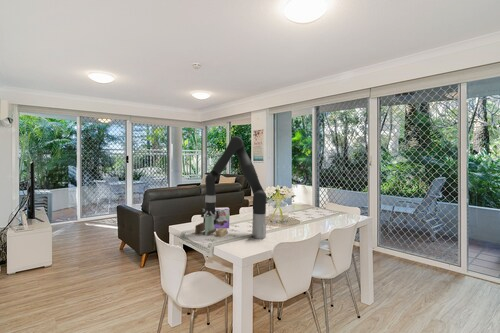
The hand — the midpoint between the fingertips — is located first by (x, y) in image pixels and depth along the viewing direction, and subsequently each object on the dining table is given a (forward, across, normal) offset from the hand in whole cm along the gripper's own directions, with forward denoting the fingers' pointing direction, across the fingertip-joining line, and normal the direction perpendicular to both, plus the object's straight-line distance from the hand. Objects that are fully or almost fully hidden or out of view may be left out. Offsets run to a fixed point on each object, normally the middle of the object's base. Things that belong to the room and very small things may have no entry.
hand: (209, 223), depth 203 cm
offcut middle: (+7, -10, 0) cm, 12 cm away
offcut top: (+5, -9, 0) cm, 11 cm away
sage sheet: (+8, 0, 0) cm, 8 cm away
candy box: (+8, 0, -17) cm, 19 cm away
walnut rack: (+8, +3, 0) cm, 8 cm away
